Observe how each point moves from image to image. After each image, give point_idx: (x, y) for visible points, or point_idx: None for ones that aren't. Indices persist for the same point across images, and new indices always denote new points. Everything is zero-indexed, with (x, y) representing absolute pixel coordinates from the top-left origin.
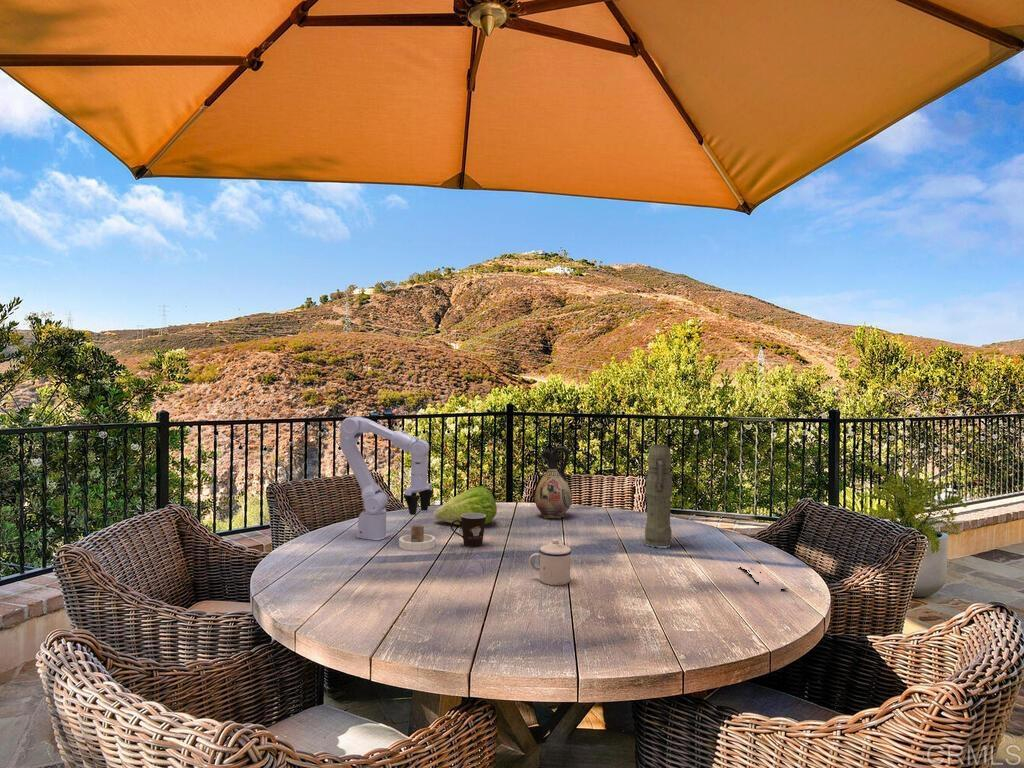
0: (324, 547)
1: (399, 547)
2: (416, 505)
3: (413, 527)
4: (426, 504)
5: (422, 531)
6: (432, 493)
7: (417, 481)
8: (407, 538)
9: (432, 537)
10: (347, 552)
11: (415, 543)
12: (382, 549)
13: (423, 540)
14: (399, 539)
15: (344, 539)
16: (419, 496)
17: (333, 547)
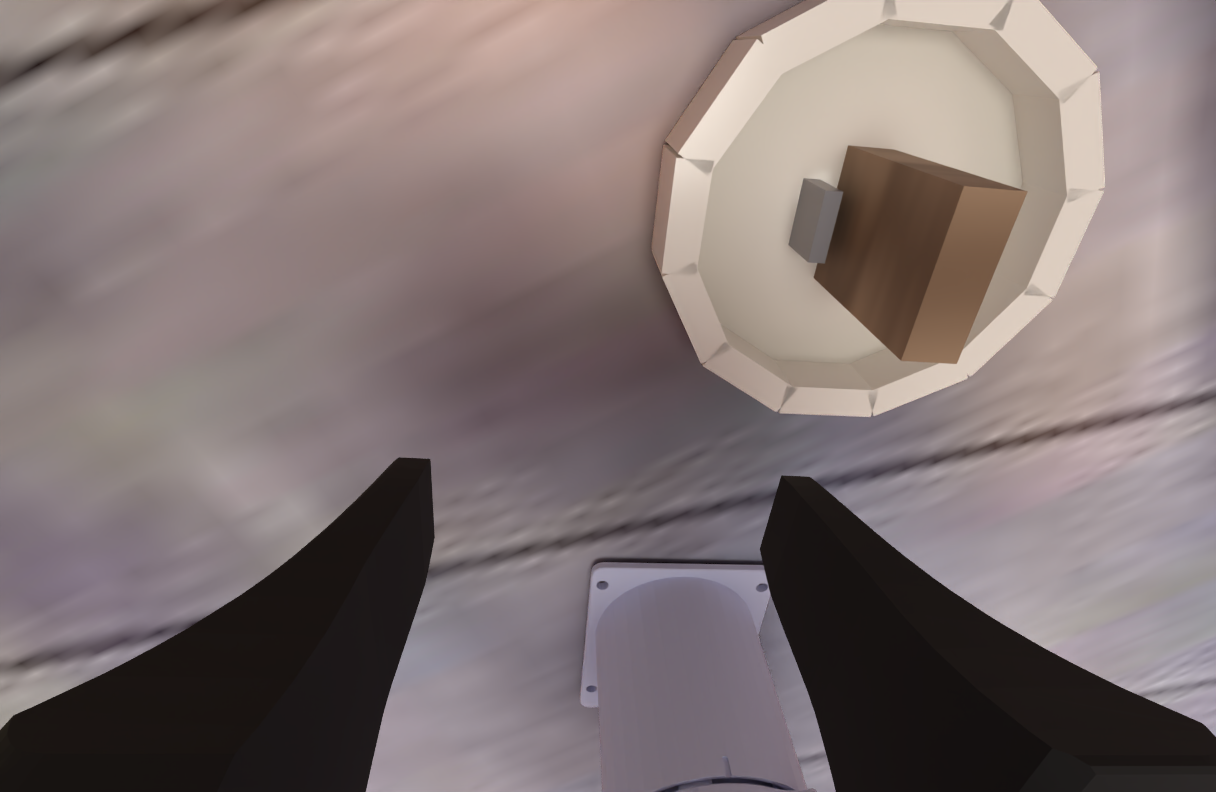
0: None
1: None
2: (892, 578)
3: (960, 326)
4: (394, 539)
5: (957, 176)
6: (99, 705)
7: None
8: (776, 369)
9: (801, 59)
10: (1086, 585)
11: (1099, 150)
12: (1000, 434)
13: (866, 152)
14: (949, 384)
15: None
16: (1077, 746)
17: None
